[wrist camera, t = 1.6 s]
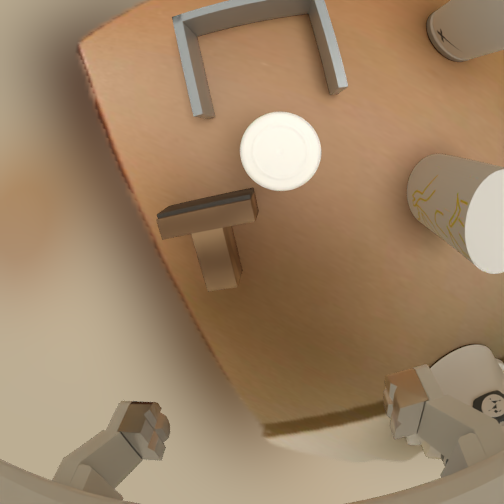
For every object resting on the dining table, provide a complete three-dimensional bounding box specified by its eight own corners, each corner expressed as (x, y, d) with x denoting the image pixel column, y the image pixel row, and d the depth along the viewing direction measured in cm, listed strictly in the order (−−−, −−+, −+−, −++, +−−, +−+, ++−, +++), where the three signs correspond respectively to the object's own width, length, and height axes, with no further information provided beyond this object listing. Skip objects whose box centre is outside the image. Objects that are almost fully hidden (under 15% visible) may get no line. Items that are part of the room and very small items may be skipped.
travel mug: (425, 54, 24) (555, 0, 5) (424, 4, 21) (530, -73, 3) (472, 72, 23) (608, 52, 5) (471, 23, 21) (588, -22, 2)
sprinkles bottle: (251, 160, 30) (229, 179, 17) (264, 116, 28) (250, 101, 16) (297, 174, 30) (308, 202, 17) (310, 129, 28) (332, 125, 16)
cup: (394, 175, 29) (450, 200, 18) (452, 141, 27) (523, 151, 16) (424, 241, 31) (478, 292, 20) (477, 206, 29) (543, 241, 18)
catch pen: (337, 94, 27) (348, 86, 22) (207, 118, 29) (193, 116, 24) (314, 6, 23) (319, -14, 19) (188, 32, 26) (172, 17, 21)
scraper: (270, 265, 34) (268, 282, 30) (190, 278, 35) (180, 295, 31) (253, 187, 31) (249, 195, 27) (169, 205, 32) (155, 215, 29)
